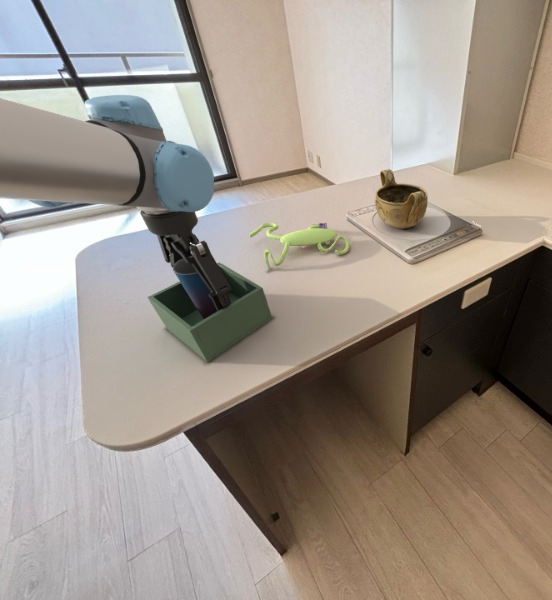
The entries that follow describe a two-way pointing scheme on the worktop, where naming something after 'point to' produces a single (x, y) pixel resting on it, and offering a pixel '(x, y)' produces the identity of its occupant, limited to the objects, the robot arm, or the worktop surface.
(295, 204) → the worktop surface
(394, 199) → the ceramic bowl
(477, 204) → the worktop surface
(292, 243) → the figurine
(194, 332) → the bin
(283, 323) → the worktop surface
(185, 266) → the cup
